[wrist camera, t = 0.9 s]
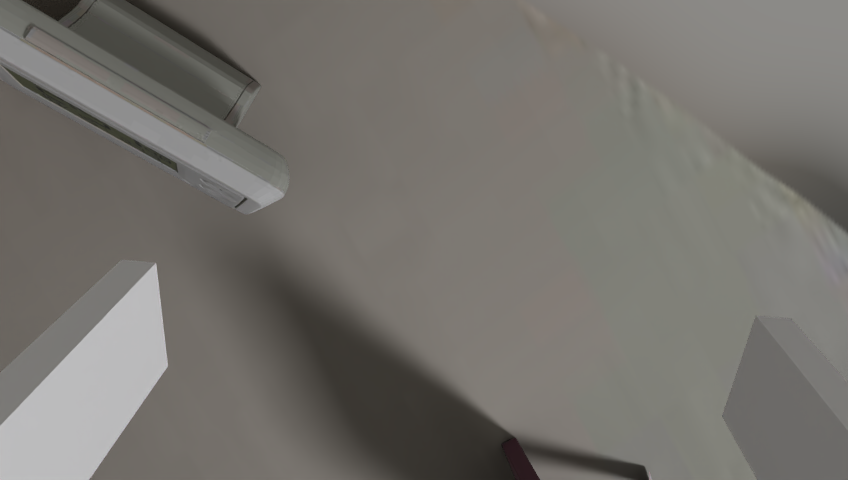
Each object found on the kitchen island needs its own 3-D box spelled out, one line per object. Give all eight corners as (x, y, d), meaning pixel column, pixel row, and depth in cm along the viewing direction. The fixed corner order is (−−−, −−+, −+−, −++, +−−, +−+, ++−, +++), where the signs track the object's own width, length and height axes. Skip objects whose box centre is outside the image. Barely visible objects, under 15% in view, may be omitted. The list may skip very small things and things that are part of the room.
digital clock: (-19, 53, 35) (-155, 60, 25) (90, -75, 34) (-5, -122, 24) (222, 247, 40) (191, 317, 30) (322, 141, 39) (325, 177, 29)
